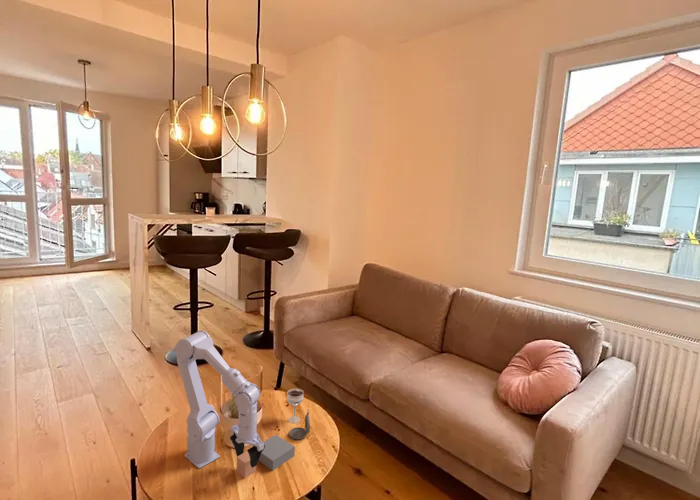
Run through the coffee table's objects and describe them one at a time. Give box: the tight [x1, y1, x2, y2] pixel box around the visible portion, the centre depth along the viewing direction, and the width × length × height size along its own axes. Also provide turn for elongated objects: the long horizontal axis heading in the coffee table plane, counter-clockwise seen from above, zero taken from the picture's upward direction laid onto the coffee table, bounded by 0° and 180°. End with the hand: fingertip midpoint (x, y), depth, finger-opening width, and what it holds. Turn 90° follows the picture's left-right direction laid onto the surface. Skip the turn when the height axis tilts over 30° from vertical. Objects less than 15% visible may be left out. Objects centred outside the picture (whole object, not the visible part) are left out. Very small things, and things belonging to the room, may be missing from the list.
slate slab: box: [258, 434, 296, 472], centre depth 138 cm, size 10×10×4 cm
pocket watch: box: [288, 409, 311, 440], centre depth 151 cm, size 8×8×10 cm
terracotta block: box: [236, 450, 257, 479], centre depth 130 cm, size 4×4×6 cm
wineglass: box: [286, 387, 305, 424], centre depth 160 cm, size 7×7×12 cm
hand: (247, 460), depth 130 cm, fingers open, 7 cm apart
